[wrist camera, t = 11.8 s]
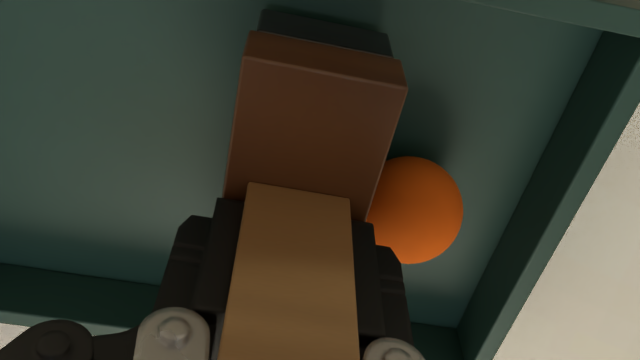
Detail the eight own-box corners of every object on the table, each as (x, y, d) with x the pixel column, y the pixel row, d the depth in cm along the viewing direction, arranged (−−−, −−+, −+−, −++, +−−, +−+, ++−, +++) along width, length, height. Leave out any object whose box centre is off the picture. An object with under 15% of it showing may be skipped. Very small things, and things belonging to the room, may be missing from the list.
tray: (-119, -185, 13) (-211, -175, 11) (633, -18, 15) (688, 20, 13) (-38, 251, 21) (-83, 312, 18) (461, 324, 23) (477, 387, 20)
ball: (496, 173, 16) (404, 124, 18) (449, 217, 14) (348, 157, 15) (459, 254, 18) (378, 204, 19) (411, 303, 16) (323, 244, 17)
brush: (255, 5, 14) (199, 208, 8) (395, 34, 15) (453, 251, 8) (215, 271, 19) (162, 530, 13) (321, 287, 20) (320, 546, 13)
